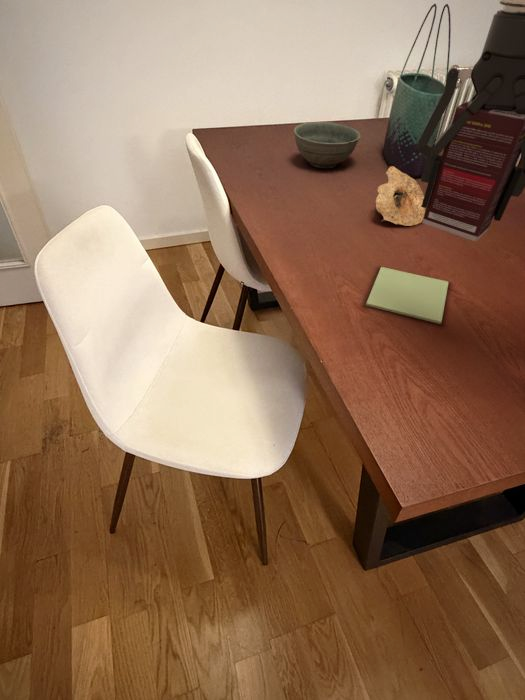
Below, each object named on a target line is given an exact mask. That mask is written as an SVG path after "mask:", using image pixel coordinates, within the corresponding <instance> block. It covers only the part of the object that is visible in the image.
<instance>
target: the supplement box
mask: <svg viewBox="0 0 525 700" xmlns="http://www.w3.org/2000/svg"><path fill="white" fill-rule="evenodd" d="M469 101H470V100H468V101H465V102H463V103H461V104H459V105H456V108H455V112H454V115H453V118H452V121H451V123H452V124H453V123H454V122H455V121H456V120H457V118H458V117H459V116H460V115H461V114H462V113H463V112H464V110H465V109H466V108H467V105H468V102H469ZM524 137H525V115H522V114H517V112H516V109H515V110H512V112H511V111H504V110H502V109H499V108H496V109H484V107H483V106H482V107H481V108H480V109H479V110H478V111H477V112H476V114H474V115H470V117H469V119H468V120H467V122H466V124H465V125H464V126H463V127H462V129H461V130H460V131H459V132H458V133H457V134H456V135H455V136H454V138H453V139H452V140H451V141H450V142H449V143H448V144H447V146H446V147H445V148H444V149H443V150H442V151H443V152H442V154H441V156H442V158H441V162H440V165H439V168H438V172H437V175H436V178H435V181H434V185H433V188H432V191H431V194H430V198H429V201H428V204H427V207H426V208H425V213H424V218H423V220H422V224H423V225H426V226H429V227H432V228H435V229H437V230H441V231H443V232H446V233H449V234H452V235H453V236H458V237H461V238H464V239H466V240H468V241H472V242H477V241H478V240H479V239H481V238H482V237H483V236H484V234H486V233H487V232H489V228H490V226H491V224H492V222H493V220H494V214H495V212H496V210H497V207H498V205H499V203H500V200H501V198H502V196H503V193H504V191H505V189H506V186H507V184H508V182H509V179H510V177H511V175H512V172H513V170H514V168H515V166H517V163H518V160H519V158H520V157H521V149H520V147H521V144H522V142H523V140H524Z"/></svg>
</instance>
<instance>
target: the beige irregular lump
mask: <svg viewBox="0 0 525 700" xmlns="http://www.w3.org/2000/svg"><path fill="white" fill-rule="evenodd" d="M385 174H386V176H387V179H388V181H387V182H386V183H383V184H380V185H379V186H378V187H377V192H378V194H377V197H376V198H375V200H374V202H375V208H376V210H377V212H378V213H379V214H380V215H382V217H383V219H381V220H380V222H386V221H388V222H391V223H393V224H395V225H401V226H406V227H407V226H409V227H411V226H415V225H418V224H421V223H422V222H423V219H424V215H425V212H426V208H423V207H421V206H422V202H423V199H424V196H425V193H424V192H423V191H422V188H421V186H420V185H419V182H417V180H415V179H414V177H410V176H408V175H407V174H405V173H402V172H401V171H399V170H398V169H397V168H395V167H393V166H392V167H390V166H389V167H388V169H387V171H385Z"/></svg>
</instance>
